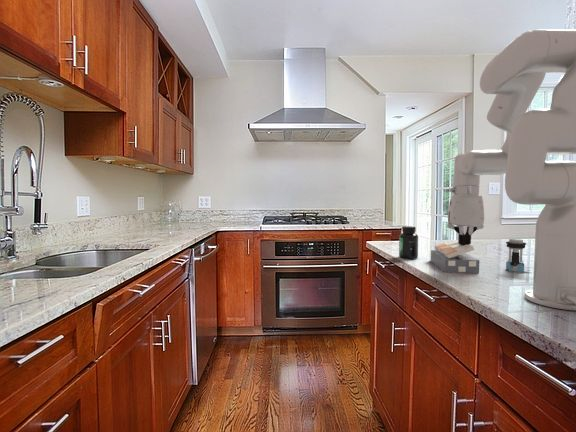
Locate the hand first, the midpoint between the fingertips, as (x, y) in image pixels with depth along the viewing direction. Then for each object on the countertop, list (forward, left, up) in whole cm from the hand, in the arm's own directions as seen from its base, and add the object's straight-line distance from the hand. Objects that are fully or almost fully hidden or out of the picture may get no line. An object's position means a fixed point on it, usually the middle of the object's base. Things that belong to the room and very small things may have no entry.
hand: (464, 246), depth 113 cm
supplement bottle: (+14, +15, -7) cm, 22 cm away
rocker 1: (+6, +3, -1) cm, 7 cm away
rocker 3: (-6, +3, -1) cm, 7 cm away
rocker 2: (0, +3, -1) cm, 4 cm away
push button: (-4, -15, -7) cm, 17 cm away
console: (0, +3, -7) cm, 8 cm away
